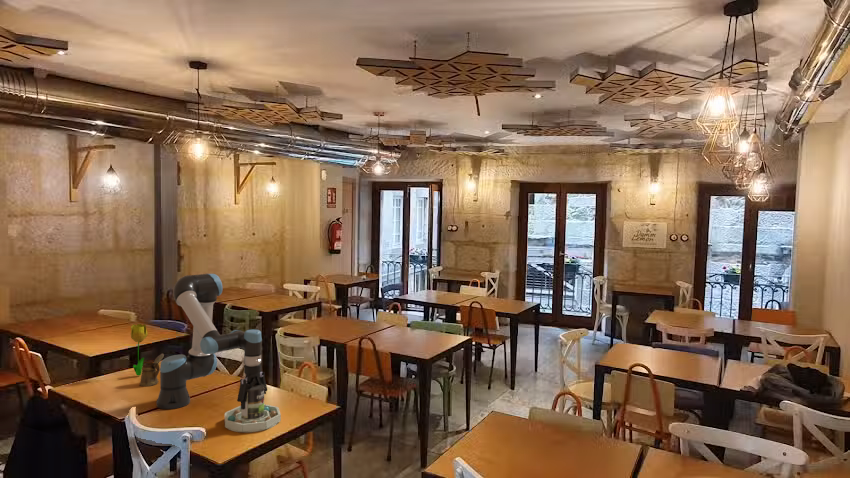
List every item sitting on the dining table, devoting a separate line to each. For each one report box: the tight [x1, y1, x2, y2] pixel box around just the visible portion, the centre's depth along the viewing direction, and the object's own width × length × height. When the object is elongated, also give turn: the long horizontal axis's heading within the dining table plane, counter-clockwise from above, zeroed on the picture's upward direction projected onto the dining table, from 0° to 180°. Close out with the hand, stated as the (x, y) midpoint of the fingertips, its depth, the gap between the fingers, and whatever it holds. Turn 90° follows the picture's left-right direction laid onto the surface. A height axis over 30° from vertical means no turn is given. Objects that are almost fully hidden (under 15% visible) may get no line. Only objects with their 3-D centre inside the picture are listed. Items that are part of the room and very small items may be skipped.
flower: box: [130, 323, 149, 377], centre depth 312 cm, size 9×8×30 cm
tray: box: [224, 403, 282, 433], centre depth 252 cm, size 24×24×4 cm
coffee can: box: [241, 384, 265, 421], centre depth 251 cm, size 10×10×14 cm
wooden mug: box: [139, 352, 165, 387], centre depth 300 cm, size 9×14×18 cm, turn 75°
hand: (252, 411), depth 251 cm, fingers closed on coffee can, 10 cm apart
